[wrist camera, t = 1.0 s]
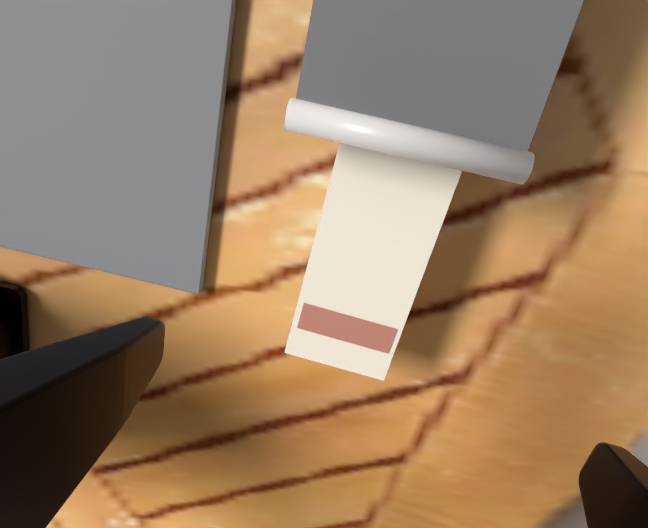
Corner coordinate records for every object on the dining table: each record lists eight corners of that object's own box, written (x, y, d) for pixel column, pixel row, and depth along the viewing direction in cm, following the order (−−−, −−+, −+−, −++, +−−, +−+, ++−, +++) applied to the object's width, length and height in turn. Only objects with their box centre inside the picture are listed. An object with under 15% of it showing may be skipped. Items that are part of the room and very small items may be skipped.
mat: (202, 289, 22) (198, 294, 22) (-43, 230, 23) (-54, 233, 22) (251, -127, 16) (247, -135, 16) (-88, -199, 16) (-105, -210, 16)
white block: (382, 339, 23) (383, 381, 19) (297, 315, 23) (284, 353, 19) (488, 43, 17) (514, 31, 14) (378, 13, 18) (379, -7, 14)
